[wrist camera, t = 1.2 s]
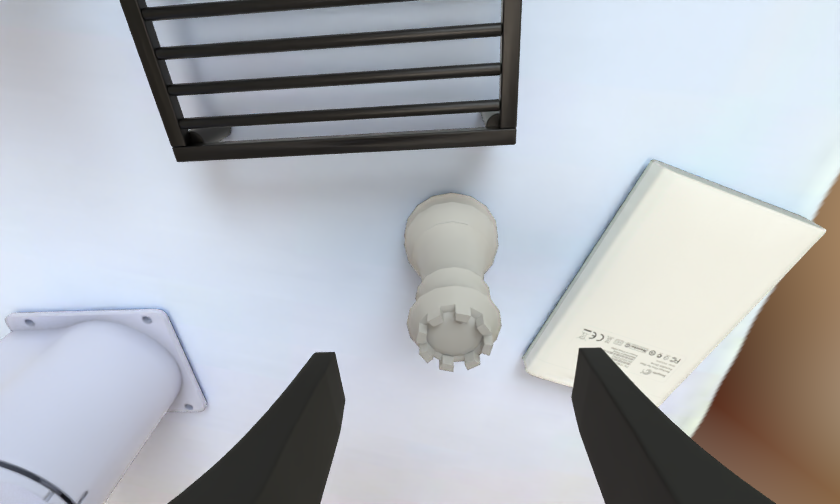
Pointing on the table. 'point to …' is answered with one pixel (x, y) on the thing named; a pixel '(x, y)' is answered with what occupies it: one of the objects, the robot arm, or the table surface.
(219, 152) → the rack
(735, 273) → the hard drive
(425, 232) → the rook chess piece
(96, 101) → the table surface
